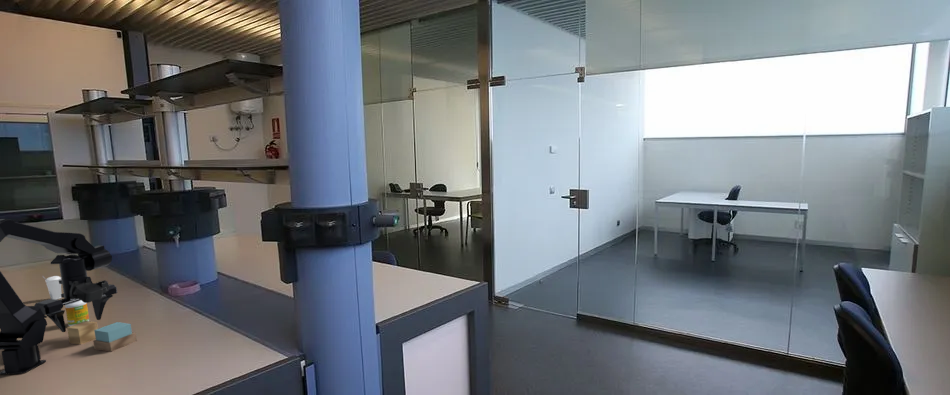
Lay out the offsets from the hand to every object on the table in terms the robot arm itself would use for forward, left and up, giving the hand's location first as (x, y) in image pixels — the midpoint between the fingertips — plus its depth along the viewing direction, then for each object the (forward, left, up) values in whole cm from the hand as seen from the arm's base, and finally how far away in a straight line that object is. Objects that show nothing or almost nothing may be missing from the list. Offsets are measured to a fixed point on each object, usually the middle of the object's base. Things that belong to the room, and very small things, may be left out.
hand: (81, 325), depth 134 cm
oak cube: (0, 0, -5) cm, 5 cm away
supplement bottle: (+15, +14, -5) cm, 21 cm away
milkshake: (+45, +48, -5) cm, 66 cm away
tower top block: (-5, -13, -2) cm, 14 cm away
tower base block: (-5, -13, -5) cm, 15 cm away
